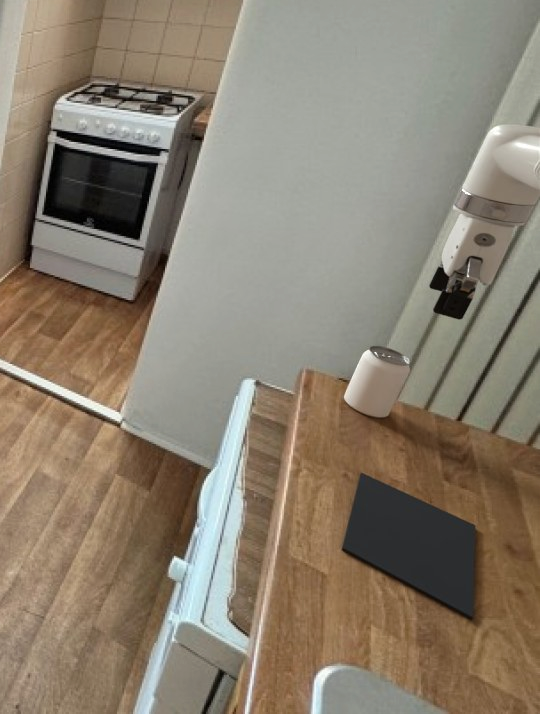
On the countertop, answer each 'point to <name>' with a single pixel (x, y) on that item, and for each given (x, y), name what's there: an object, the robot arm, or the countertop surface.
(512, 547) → the countertop surface
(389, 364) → the can
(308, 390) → the countertop surface
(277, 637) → the countertop surface
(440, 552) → the mat
